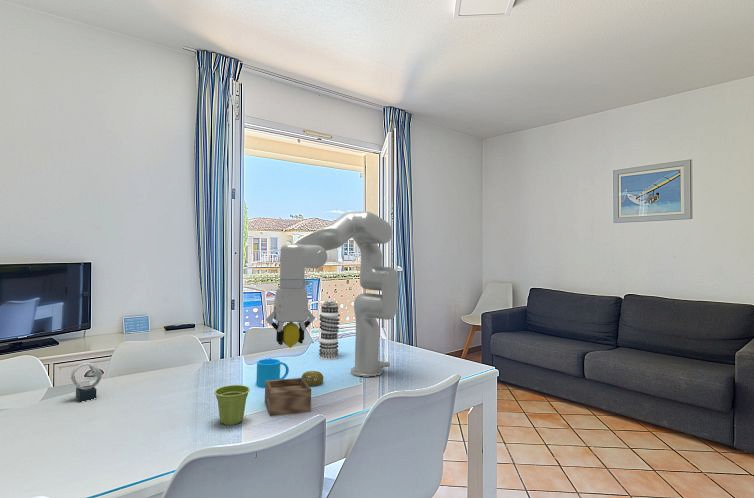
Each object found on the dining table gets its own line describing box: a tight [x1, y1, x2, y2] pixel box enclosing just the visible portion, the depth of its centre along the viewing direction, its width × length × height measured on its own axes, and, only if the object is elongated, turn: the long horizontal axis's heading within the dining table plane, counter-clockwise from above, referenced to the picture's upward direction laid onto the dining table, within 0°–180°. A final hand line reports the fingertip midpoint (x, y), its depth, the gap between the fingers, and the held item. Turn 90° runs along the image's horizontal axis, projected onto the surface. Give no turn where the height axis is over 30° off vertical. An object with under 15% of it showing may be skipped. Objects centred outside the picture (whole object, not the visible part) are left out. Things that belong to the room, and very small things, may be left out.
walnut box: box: [264, 377, 312, 417], centre depth 131 cm, size 12×12×7 cm
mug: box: [255, 358, 290, 389], centre depth 153 cm, size 12×8×8 cm
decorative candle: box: [318, 301, 341, 361], centre depth 192 cm, size 9×9×25 cm
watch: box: [70, 362, 103, 403], centre depth 133 cm, size 6×8×11 cm
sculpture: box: [300, 370, 324, 387], centre depth 154 cm, size 8×4×8 cm
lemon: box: [282, 322, 300, 349], centre depth 131 cm, size 6×6×8 cm
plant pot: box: [213, 384, 251, 426], centre depth 119 cm, size 9×9×9 cm
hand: (290, 342), depth 131 cm, fingers closed on lemon, 5 cm apart
